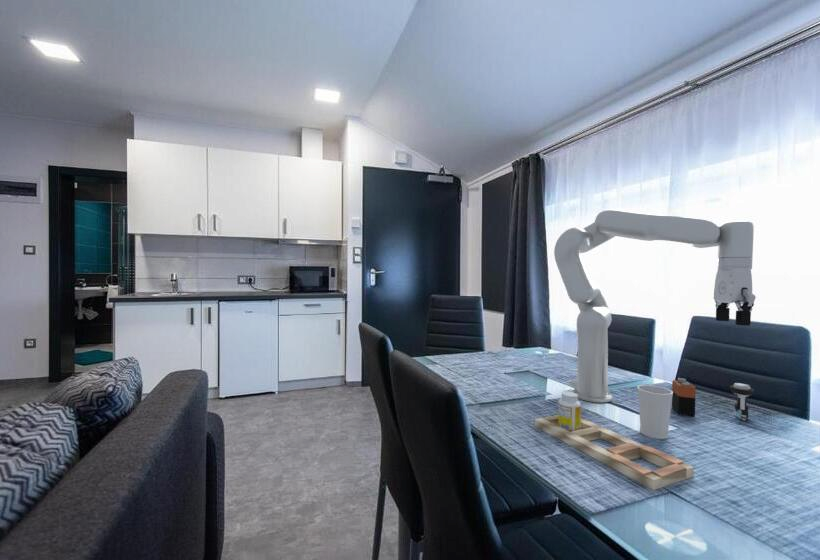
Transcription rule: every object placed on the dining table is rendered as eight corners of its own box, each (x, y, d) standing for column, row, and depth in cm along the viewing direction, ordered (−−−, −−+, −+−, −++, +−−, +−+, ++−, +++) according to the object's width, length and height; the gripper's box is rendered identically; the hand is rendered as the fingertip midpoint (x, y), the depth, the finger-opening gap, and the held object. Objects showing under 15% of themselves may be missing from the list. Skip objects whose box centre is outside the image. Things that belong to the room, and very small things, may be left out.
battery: (687, 409, 117) (688, 378, 117) (695, 416, 111) (696, 384, 111) (671, 407, 119) (672, 376, 118) (678, 414, 112) (679, 382, 112)
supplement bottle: (576, 427, 102) (577, 391, 102) (583, 436, 96) (583, 397, 96) (555, 426, 103) (556, 390, 103) (561, 434, 97) (561, 396, 97)
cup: (661, 442, 93) (662, 396, 93) (630, 430, 100) (630, 387, 100) (678, 436, 97) (679, 391, 96) (647, 425, 104) (647, 383, 103)
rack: (534, 426, 102) (535, 418, 102) (569, 419, 108) (569, 411, 108) (653, 490, 72) (653, 478, 72) (693, 476, 77) (693, 465, 77)
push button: (756, 424, 106) (757, 389, 105) (732, 419, 109) (732, 386, 108) (751, 416, 111) (751, 384, 111) (728, 412, 114) (728, 381, 114)
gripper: (703, 264, 115) (701, 318, 115) (737, 263, 98) (735, 326, 99) (731, 265, 113) (729, 320, 114) (771, 263, 96) (768, 328, 97)
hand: (732, 322), depth 106 cm, fingers open, 9 cm apart
